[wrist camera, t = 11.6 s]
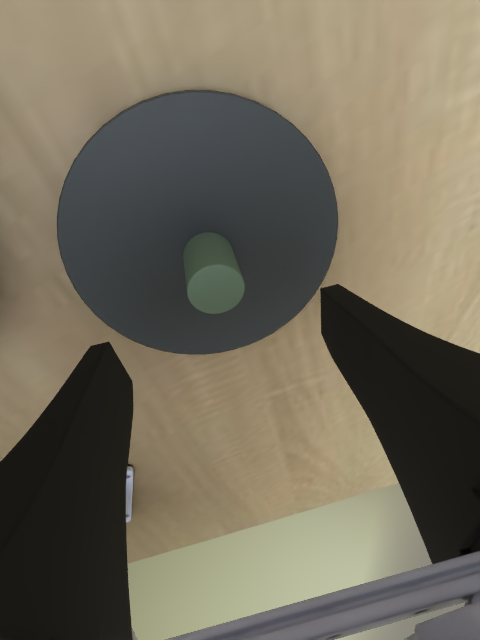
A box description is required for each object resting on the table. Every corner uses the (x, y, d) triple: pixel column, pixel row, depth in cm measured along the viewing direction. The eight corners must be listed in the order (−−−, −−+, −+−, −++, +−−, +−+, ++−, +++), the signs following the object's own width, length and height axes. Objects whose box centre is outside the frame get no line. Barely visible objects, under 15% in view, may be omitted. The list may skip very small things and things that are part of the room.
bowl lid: (287, 346, 23) (309, 396, 19) (74, 338, 19) (55, 397, 16) (372, 127, 15) (431, 147, 12) (44, 46, 12) (-3, 42, 8)
